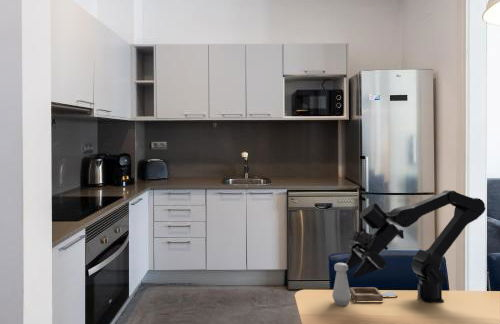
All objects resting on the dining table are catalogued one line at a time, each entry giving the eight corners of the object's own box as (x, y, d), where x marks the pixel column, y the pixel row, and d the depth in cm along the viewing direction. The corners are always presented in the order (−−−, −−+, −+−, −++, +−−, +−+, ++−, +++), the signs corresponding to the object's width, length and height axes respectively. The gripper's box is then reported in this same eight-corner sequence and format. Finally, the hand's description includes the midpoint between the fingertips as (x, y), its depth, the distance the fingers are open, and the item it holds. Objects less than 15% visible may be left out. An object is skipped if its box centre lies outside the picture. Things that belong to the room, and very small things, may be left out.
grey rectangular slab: (391, 293, 148) (391, 291, 148) (397, 297, 143) (397, 295, 143) (372, 293, 148) (372, 291, 148) (376, 297, 143) (376, 296, 143)
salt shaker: (352, 306, 134) (351, 265, 134) (334, 306, 134) (333, 265, 135) (348, 300, 140) (348, 261, 140) (331, 301, 140) (330, 261, 140)
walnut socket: (376, 294, 147) (375, 287, 147) (382, 302, 138) (382, 295, 138) (349, 294, 148) (349, 287, 148) (354, 302, 139) (354, 295, 139)
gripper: (354, 218, 148) (323, 250, 147) (375, 225, 129) (340, 262, 128) (376, 240, 149) (346, 273, 147) (400, 250, 130) (366, 288, 129)
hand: (349, 273), depth 138 cm, fingers open, 9 cm apart
